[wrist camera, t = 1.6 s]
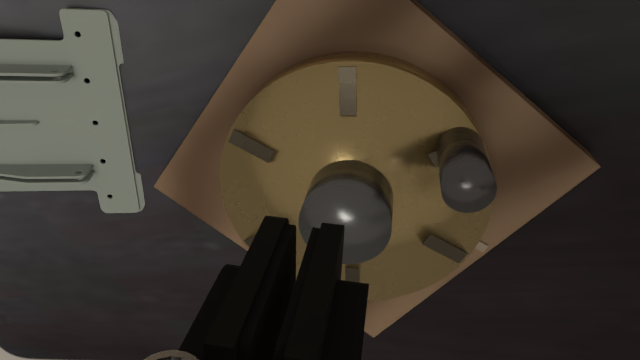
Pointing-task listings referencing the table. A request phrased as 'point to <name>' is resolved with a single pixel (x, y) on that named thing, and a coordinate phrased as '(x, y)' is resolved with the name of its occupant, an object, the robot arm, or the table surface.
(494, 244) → the base plate
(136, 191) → the metal bracket
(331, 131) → the rotary dial
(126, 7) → the table surface
